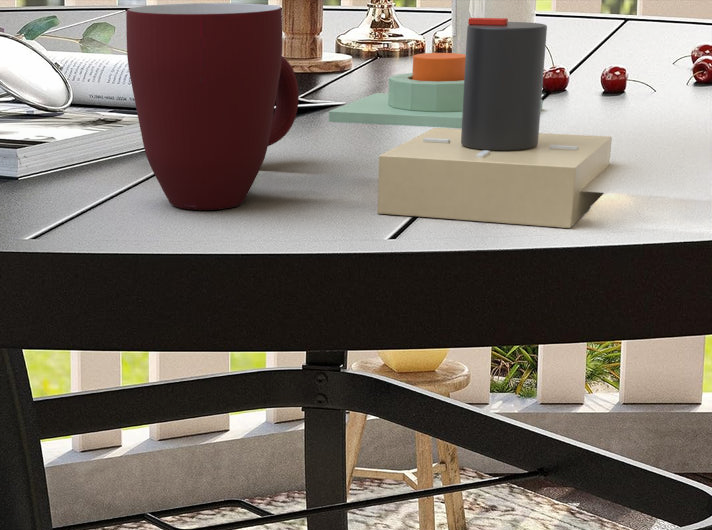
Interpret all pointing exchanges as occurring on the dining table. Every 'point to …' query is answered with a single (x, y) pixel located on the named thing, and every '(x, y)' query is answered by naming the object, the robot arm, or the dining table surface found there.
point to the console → (492, 179)
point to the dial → (503, 84)
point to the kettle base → (408, 104)
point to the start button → (438, 67)
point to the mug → (209, 96)
